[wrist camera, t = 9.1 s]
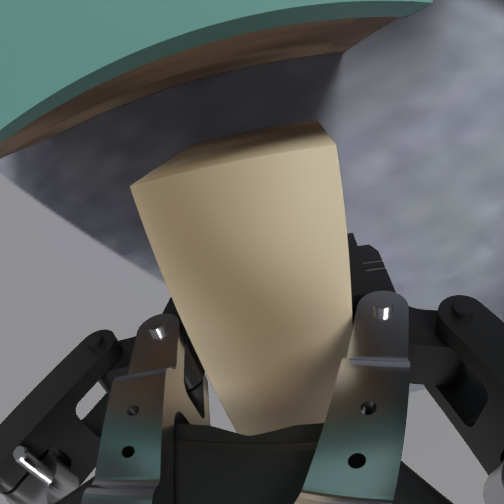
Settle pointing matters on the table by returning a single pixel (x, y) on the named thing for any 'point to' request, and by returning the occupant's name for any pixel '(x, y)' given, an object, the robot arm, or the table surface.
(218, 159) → the pale wooden block
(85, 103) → the open wooden box
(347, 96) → the table surface
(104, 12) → the lid
